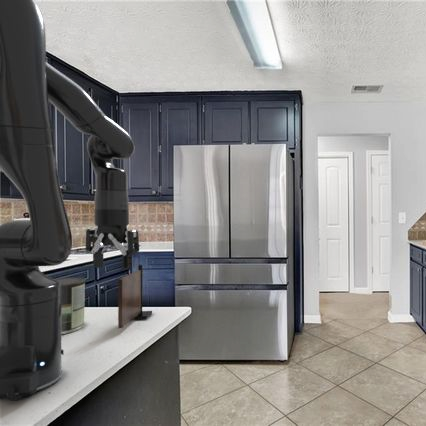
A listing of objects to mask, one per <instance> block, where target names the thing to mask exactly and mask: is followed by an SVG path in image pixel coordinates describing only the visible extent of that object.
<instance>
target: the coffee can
mask: <svg viewBox="0 0 426 426" xmlns="http://www.w3.org/2000/svg"><path fill="white" fill-rule="evenodd" d="M53 279H54V280H57V281H58V282H60V284H61V286H62V303H61V335H66V334H70V333H73V332H76V331H78V330H80V329H82V328H84V327H85V325H86V323H85V306H86V305H85V301H86V299H85V298H86V296H85V293H86V278H84V277H61V278H53Z"/></svg>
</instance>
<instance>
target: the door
mask: <svg viewBox="0 0 426 426" xmlns="http://www.w3.org/2000/svg"><path fill="white" fill-rule="evenodd" d="M117 283H118V284H117V285H118V287H117V289H118V293H117V294H118V298H117V299H118V303H117V306H118V307H117V313H118V314H117V329H123V328H124V327H125V326H127V325H128V324H129V323H130V322H132V321H134V320H133V319H134V318H135V317H136V316H137V315H139V314H140V301H141V270H138V269H137V270H135V271H133V272H131V273H129V274H127V275H125V276H123V277H121V278H119V279H118V282H117Z"/></svg>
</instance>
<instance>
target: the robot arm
mask: <svg viewBox="0 0 426 426" xmlns="http://www.w3.org/2000/svg"><path fill="white" fill-rule="evenodd" d="M46 35H47V33H46V25H45V21H44V17H43V14H42V11H41V9H40V7H39V5H38V3H37V2H36V0H0V170H1V171H2V173H4V175H5V176H6V177H7V178H8V179H9V181H11V183H12V184H13V185H14V186H15V187H16V189H17V190H18V191H19V192H20V194H21V195H22V198H23V199H24V202H25V204H26V208H27V212H28V216H29V219H28V220H27V219H26V220H25V219H21V220H19V219H18V220H17V219H15V220H8V221H6V222H3V223H1V225H0V399H2V398H3V399H4V398H7V399H8V400H9V401H20V400H21V399H22V398H23V397H27V396H28V397H29V396H33V395H34V394H35V393H37V392H39V391H41V390H44V389H46V388H48V387H50V386H52V385H53V384H56V383H57V382H58V381H59V380H60V379H61V378H62V377H63V370H62V356H64V353H65V352H64V350H63V349H62V334H61V303H62V286H61V284H60V282H58V281H57V280H54V279H55V278H51V277H49V276H48V275H46V274H44V273H43V272H42V271H41V269H40V267H53V266H54V267H55V266H58V265H61V264H63V263H65V261H67V259H68V258H69V257H70V255H71V252H72V248H73V233H72V229H71V225H70V221H69V216H68V213H67V209H66V206H65V202H64V197H63V193H62V188H61V183H60V177H59V171H58V164H57V155H56V154H57V153H56V145H55V137H54V131H53V130H54V129H53V124H52V119H51V112H50V103H51V104H52V105H53V106H54V107H55V109H57V111H59V113H60V114H62V115H63V116H64V118H65V119H66V120H67V121H68V122H69V123H70V124H71V125H72V126H73V127H74V128H75V129H76V130H77V132H78V131H79V132H80V133H81V134H84V135H89V137H88V139H87V143H86V149H87V153H88V157H89V159H90V163H91V166H92V169H93V171H94V175H95V181H94V182H95V190H94V191H95V193H94V199H93V200H94V226H96V227H95V228H87V229H86V230H85V231H86V232H85V251H86V252H90V253H91V254H92V265H93V267H94V268H95V269H100V268H103V267H104V251H105V249H106V248H107V247H108V246H109V247H115V248H116V249H117V250H119V251H120V253H121V254H122V255H121V270H123V271H125V270H129V269H131V268H132V265H133V254H135V253H139V252H140V238H139V237H140V236H139V235H140V234H139V230H138V229H131V230H128V225H129V224H130V200H129V199H130V198H129V192H128V191H129V187H128V184H129V183H128V172H127V171H126V170H125V169H122V168H120V167H116V166H115V164H114V161H113V160H125V159H129V158H131V157H132V156H134V154H135V150H136V146H135V142H134V139H133V138H132V136H131V135H130V134H129V133H128V131H127V130H125V129H124V128H123V127H121V126H120V125H119V124H118V123H116V122H115V121H114V120H113V119H112V118H110V117H109V116H107V115H106V114H105V113H104V111H102V108H100V107H99V106H98V104H97V103H96V102H95V100H94V99H93V98H92V97H91V96H90V95H89V93H87V91H86V90H85V89H83V88H82V87H81V86H80V85H79V84H77V83H76V82H75V81H74V80H73V79H71V78H69V77H68V76H66V75H65V74H64V73H62V72H61V71H59V70H58V69H56V68H55V67H53V66H52V65H51V64H49V63H48V62H47V40H46V39H47V36H46Z"/></svg>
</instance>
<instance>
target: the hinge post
mask: <svg viewBox="0 0 426 426" xmlns="http://www.w3.org/2000/svg"><path fill="white" fill-rule="evenodd" d="M137 267H138V268H137V270H141V301H140V314H139V315H137V316H136V317H135V318H134V319H133V320H132V321H145V320H148V319H149V318H150V317H151V316H152V315H153V310H143V281H144V280H143V278H144V277H143V267H144V265H143V264H138V266H137Z"/></svg>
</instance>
